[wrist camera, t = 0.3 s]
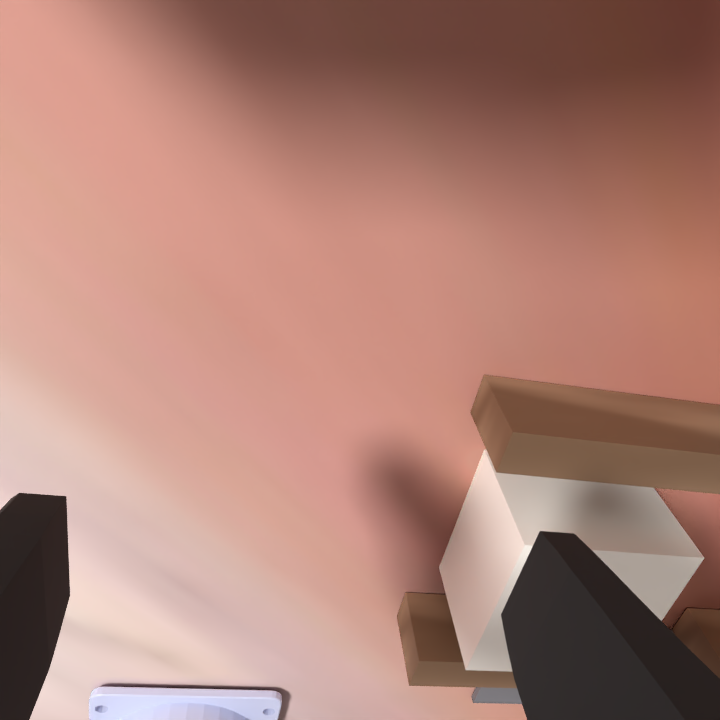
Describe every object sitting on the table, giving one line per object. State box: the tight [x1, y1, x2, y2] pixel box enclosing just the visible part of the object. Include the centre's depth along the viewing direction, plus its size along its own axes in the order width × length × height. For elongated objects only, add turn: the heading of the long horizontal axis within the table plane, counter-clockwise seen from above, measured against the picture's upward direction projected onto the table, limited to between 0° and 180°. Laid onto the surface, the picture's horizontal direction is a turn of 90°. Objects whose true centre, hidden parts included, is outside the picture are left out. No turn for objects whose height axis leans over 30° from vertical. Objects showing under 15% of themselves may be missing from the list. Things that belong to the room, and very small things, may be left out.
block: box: [439, 449, 704, 672], centre depth 22 cm, size 6×6×4 cm
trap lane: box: [397, 375, 720, 704], centre depth 23 cm, size 24×21×4 cm
